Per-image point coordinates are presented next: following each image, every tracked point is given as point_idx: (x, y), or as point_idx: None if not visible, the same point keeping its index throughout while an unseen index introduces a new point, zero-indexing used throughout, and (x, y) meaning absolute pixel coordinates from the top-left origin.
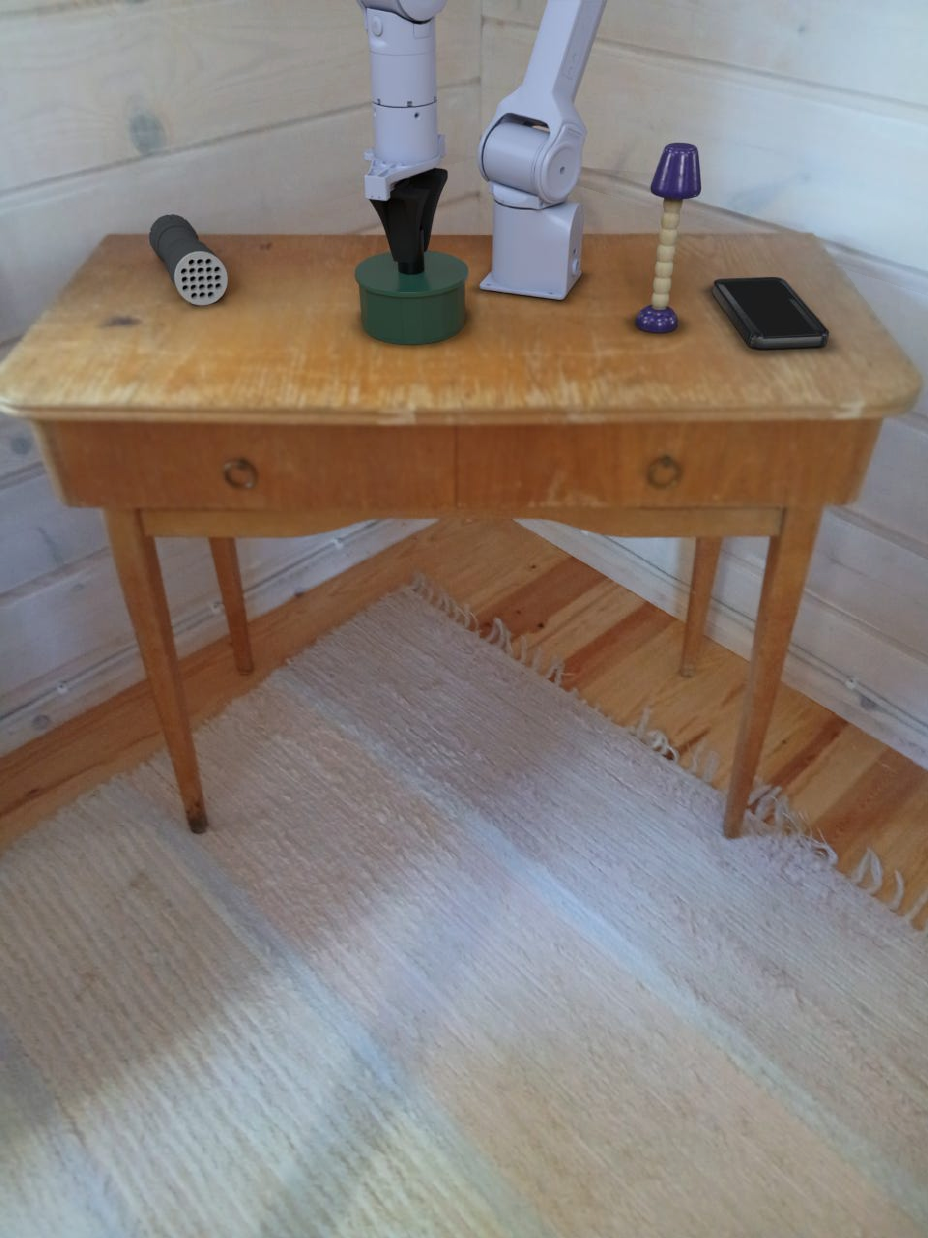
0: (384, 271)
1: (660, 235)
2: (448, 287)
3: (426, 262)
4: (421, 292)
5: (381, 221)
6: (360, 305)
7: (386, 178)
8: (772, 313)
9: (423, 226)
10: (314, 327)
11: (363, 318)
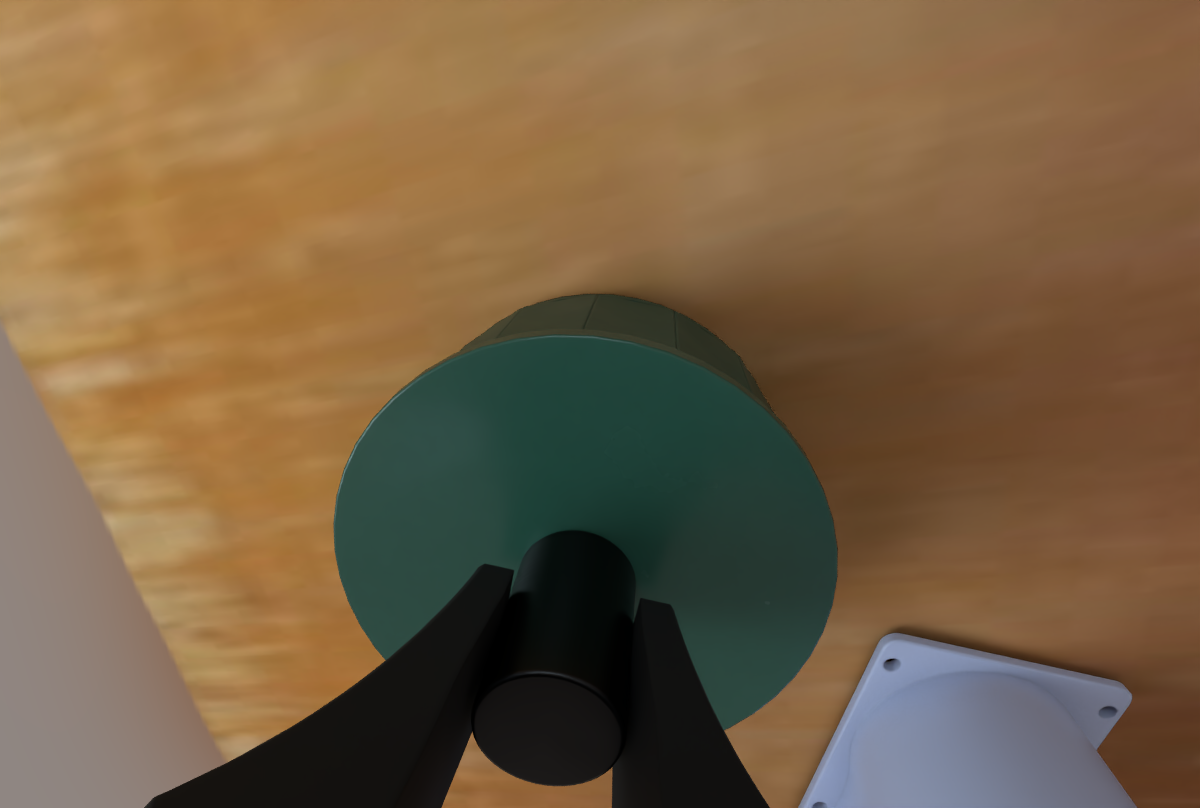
0: (538, 475)
1: None
2: None
3: None
4: (365, 630)
5: (352, 686)
6: (509, 325)
7: None
8: None
9: (617, 776)
10: (498, 108)
11: (496, 327)
